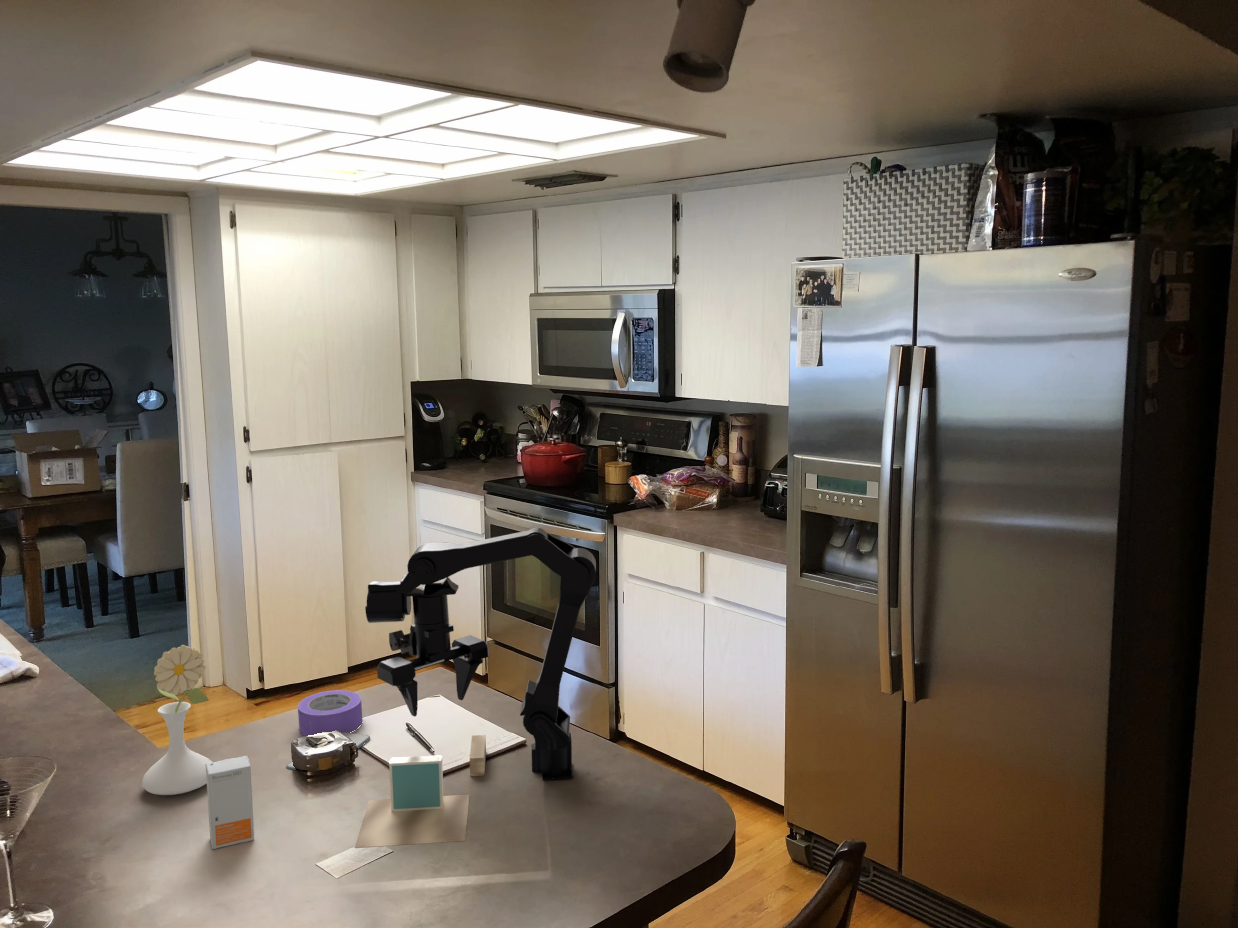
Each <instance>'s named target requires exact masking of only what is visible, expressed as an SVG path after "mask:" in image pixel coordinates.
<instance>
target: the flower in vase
mask: <svg viewBox="0 0 1238 928" xmlns="http://www.w3.org/2000/svg"><path fill="white" fill-rule="evenodd" d="M204 662H205V659H204V658H203V653H202V652H200V651H199V650H198V649H196V648H192V647H191V646H188V645H185V644H181V645H180V646H178V647H172V648H170V650H168V651H164V652H163V653H162V656H161V658H158V659H157V661H156V663H157V665H156V666H155V667H154V668H153V669H154V672H153V674H154V676H155V679H154V680H155V681H156V682H157V684H156V689H157V690H158V692H159V694H161V695H162V696H165V697H167V698H169V699H173V700H176V702H175V701H174V702H169V703H166V704H164V705H161V706H160V707H159V708H158V709H157V713H158V714H159V715H160V716H162V718H163V719H164V721H165V724H166V727H167V732H168V738H169V741H168V742H169V747H168V750H167V752H165V754H164V755H163V756H162V757H161V758H159V760H157V761H156V762H155V763H154V764H153V765H152V766H150V768H149V769H148V770H147V771H146V773H145V774H144V775H143V778H142V780H141V786H142V787H143V789H144V790H145V791H147V792H148V793H149V794H153V795H159V796H174V795H180V794H185V793H188V792H189V793H190V792H191V791H195V790H197V789H199V788H202V787H203V786H205V785H207V779H206V766H205V764H207V763H212V762H213V761H212V760H210V758H208V757H206V756H204V755H202V754H200V753H197V752H196V751H193V750H191V749H190V748H188V747H187V745H186V742H185V736H184V735H185V734H184V733H185V732H184V729H185V720H186V716H187V714H188V711H189V710H190V708H191V707H192V705H191V704H193V705H198V704H202V703H204V702H206V703H207V702H208V701H210V700H209V698H208V696H207V695H206V694H205V693H204V692H203V690H202V689H201V688H200V687H196V685H198V684H199V679H201V678H202V677H203V674H204V670H206V664H204ZM182 693H183V695H182V696H181V698H180V699H179V698H178V697H177V695H178V694H182ZM185 697H187V699H188V701H189V702H186V701H183V700H184V699H185Z"/></svg>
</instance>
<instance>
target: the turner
mask: <svg viewBox="0 0 1238 928" xmlns="http://www.w3.org/2000/svg"><path fill="white" fill-rule="evenodd" d="M486 737H487V736H486V734H482V735H481V734H480V735H479V734H478V735H471V741H470V750H469V751H470V753H469V776H470V777H477V776H479V777H480V776H485V773H486V771H485V770H486V757H487V744H486V743H487V741H486Z"/></svg>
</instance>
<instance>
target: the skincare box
mask: <svg viewBox="0 0 1238 928" xmlns="http://www.w3.org/2000/svg"><path fill="white" fill-rule="evenodd" d="M250 763H251V762H250V760H249V756H248V755H243V756H238V757H231V758H225V759H222V760H219V761H214V762H213V761H212V763H207V764H205V766H206V779H207V783H206V792H207V793H206V794H207V809H208V810H207V811H208V823H209V824H208V825H209V837H210V843H211V849H212V850H216V849H219V848H223V847H228V846H232V845H237V844H242V843H247V842H252V841H254V840H255V829H254V827H255V826H254V811H253V810H254V808H253V790H252V788H253V787H252V767H251V764H250Z"/></svg>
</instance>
